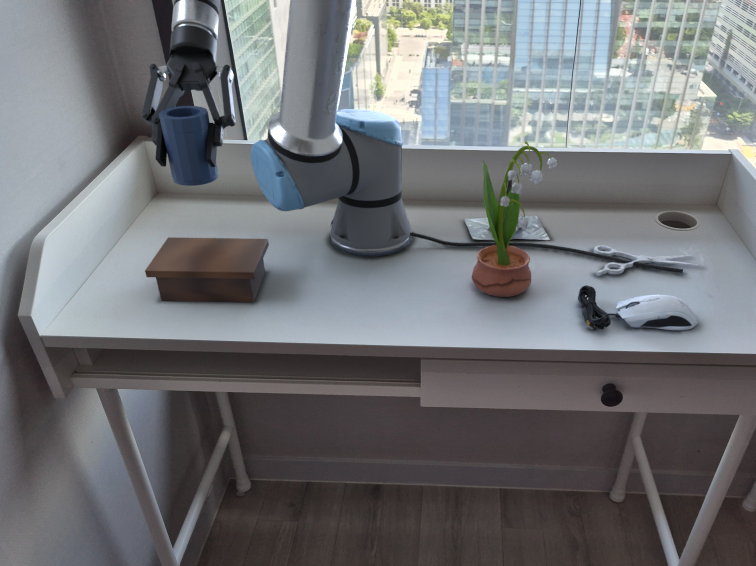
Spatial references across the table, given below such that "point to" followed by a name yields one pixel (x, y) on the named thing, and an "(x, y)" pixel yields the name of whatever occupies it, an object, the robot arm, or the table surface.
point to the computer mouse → (639, 311)
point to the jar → (187, 144)
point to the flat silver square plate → (534, 231)
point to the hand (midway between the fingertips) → (185, 162)
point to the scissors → (634, 257)
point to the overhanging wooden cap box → (209, 269)
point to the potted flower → (506, 233)
